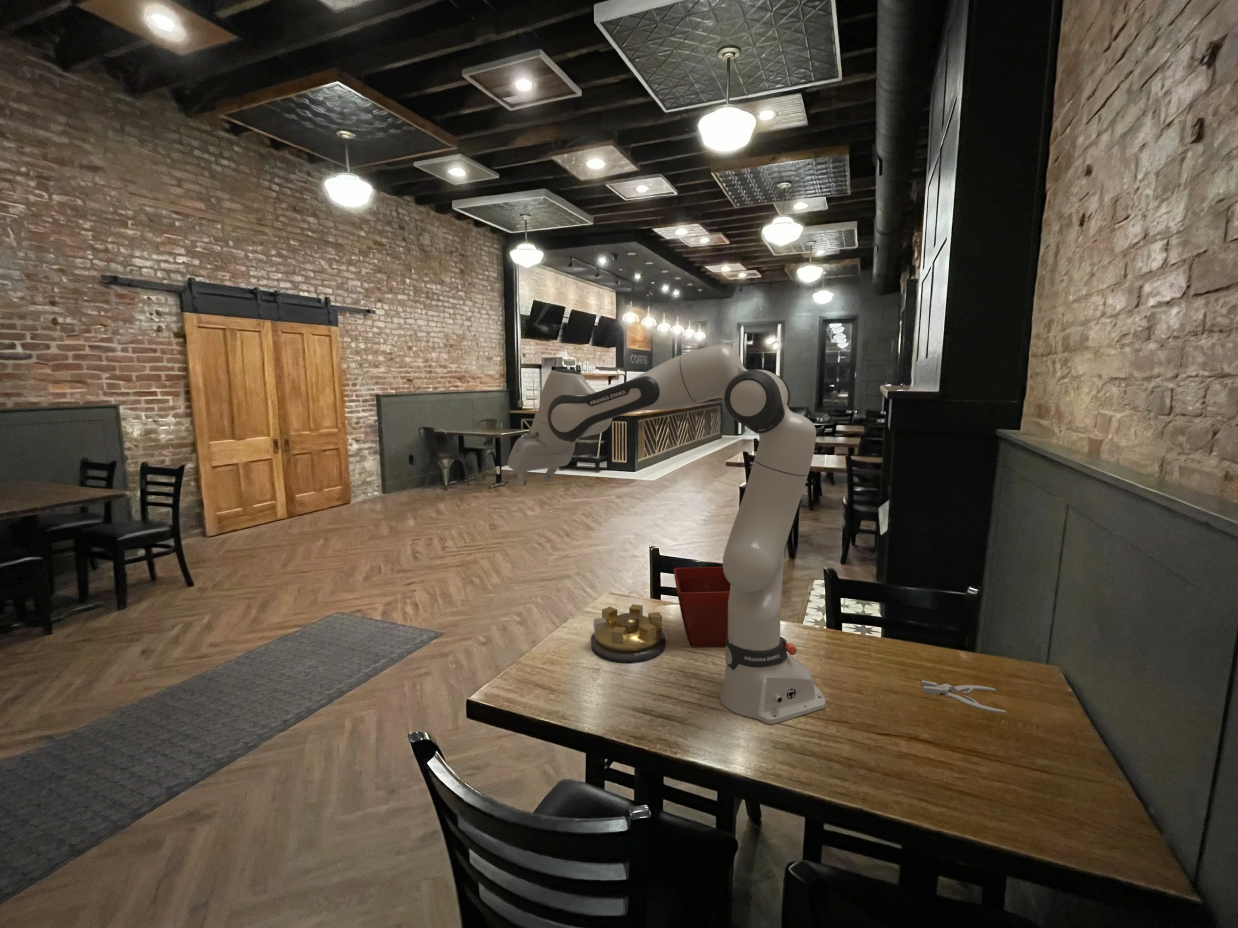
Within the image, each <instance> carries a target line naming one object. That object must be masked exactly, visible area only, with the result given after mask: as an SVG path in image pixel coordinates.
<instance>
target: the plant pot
mask: <svg viewBox="0 0 1238 928" xmlns="http://www.w3.org/2000/svg"><path fill="white" fill-rule="evenodd" d="M673 575H674V581H675V588H676V594H677V599H678V604H679V609H680V614H681V618H682V619H681V620H682V624H683V629H684V631H685V635H686V638H687V641H688V644H689V646H690V647H691V648H719V647H720V648H722V647H723V648H725V647H726V636H727V634H728V599H729V593H730V583H729V582H728V580H727V579H726V577H725V575H724V571H723V566H708V567H707V566H704V567H703V566H700V567H698V566H697V567H696V566H695V567H694V566H693V567H674V568H673Z"/></svg>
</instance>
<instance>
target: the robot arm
mask: <svg viewBox="0 0 1238 928" xmlns="http://www.w3.org/2000/svg"><path fill="white" fill-rule="evenodd" d="M790 393H791V392H790V388H789V386H788V383H787V382H786V381H785V380H784V379H783V378H782V377H781V376H779V375H777V374H775V373H774V372H771V371H770V370H766V369H755V368H746V367H744V365H743V361H742V359H741V356H740V355H739V353H738V352H737V351H736V350H735V349H734V348H733V347H732V346H730V345H729V344H717V345H716V344H715V345H711V346H710V345H709V346H705V347H703V348H698V349H694V350H691V351H689V352H685V353H682V354H679V355H678V356H677V355H676V356H675V357H672V358H670V359H668V360H666V361H664V362H662V363H660V364H658V365H657V366H655V367H653V368H650V369H649V370H647V371H645V372H643V373H641V374H639V375H638V376H635V377H634V378H631V379H629V380H627V381H624V382H621V383H620V384H616V385H614V386H613V385H612V386H610V387H608V388H605V389H602V390H600V391H595V389H594V388H592V387H591V386H590V385H589V383H588V382H587V381H586V379H585V376H584V374H583V373H581V372H579V371H577V370H573V369H570V368H569V369H568V368H555V369H553V370H551V371H550V372H549V374H548V375H547V377H546V380H545V383H544V385H543V388H542V391H541V394H540V397H539V407H538V409H537V411H536V412H535V415H534V418H533V421H532V424H531V428H530V431H529V433H528V432H527V433H523V434H522V435H521V436H520V437H518V438H517V440H516V441H515V443H514V444H513V447H512V449H511V452H510V454H509V456H508V459H507V466H508V468H509V469H511V470H512V471H514V472H516V475H517V480H516V484H517V486H519V487H526V486H527V483H528V479H526V475H527V474H528V472H529V471H536V470H537V471H538V470H545V469H547V470H546V471H545V472H544V473H543V474H542V477H541V480H542V481H543V482H545V483H550V482H551V480H552V477H553V475H555V474H556V472H557V471H558V468H559V467H565V466H566V467H567V466H568V465H569V463H570V462H571V461H572V457H573V454H574V451H575V447H576V443H577V442H578V440H579V439H580V438H586V437H590V436H594V435H595V436H596V435H598V434H601V433H604V432H606V430H608V429H609V428H610V426H611V425H612V423H613V418H617V417H620V416H622V415H626V414H628V413H635V412H643V411H668V410H677V409H678V410H679V409H683V408H688V407H692V406H694V405H698V404H701V403H704V402H707V401H710V400H714V399H724V400H723V401H724V406H725V409H726V410H727V413H728V414H729V416H731V418H732V419H734V420H735V421H736V422H738V423H739V424H740V425H743V426H744V427H746V428H747V429H749V430H750V431H751V432H753V433H754V434H757V435H758V437H759V439H758V444H757V445H758V446H757V449H756V452H755V456H754V459H753V463H752V466H751V469H750V474H749V476H748V479H747V484H746V487H745V490H744V493H743V496H742V499H741V502H740V505H739V507H738V511H737V514H736V516H735V519H734V522H733V525H732V527H731V530H730V533H729V537H728V540H727V543H726V545H725V549H724V552H723V557H722V567H723V571H724V575H725V577H726V579H727V580H728V582H729V583H730V593H729V599H728V634H727V636H726V647H724V657H725V663H726V665H725V674H724V679H723V683H722V686H721V690H720V693H719V700H720V702H721V703H722V704H723V706H724V707H725V708H727V709H728V710H729V711H731V712H733V713H735V714H737V715H740V716H744V717H748V718H753V719H756V720H758V721H760V722H763V723H765V724H769V725H775V724H778V723H781V722H784V721H789V720H790V719H793V718H797V717H800V716H804V715H806V714H811V713H814V712H818V711H820V710H822V709H825V708H826V698H825V696H824V694H823V693H822V691H821V690H820V689H819V688H818V687H817V686H816V685H815V683H814V679H813V677H812V674H811V672H810V671H809V669H808V668H807V667H806V666H805V665H804V664H803V663H802V662H801V661H799V660H798V659H796V658H795V657H794V656H795V655H796V653H798V652H797V651H798V648H797V647H796V645H794V644H793V642H792V643H791V642H788V641H787V640H786V639H785V638H784V637H782V636H781V612H782V611H781V610H782V609H781V607H782V606H781V605H782V595H783V594H782V593H783V578H784V564H785V563H784V560H785V559H784V558H785V548H786V545H787V543H788V539H789V535H790V533H791V530H792V526H793V523H794V520H795V518H796V514H797V512H798V508H799V505H800V503H801V502H800V501H801V499H802V496H803V492H804V489H805V486H806V483H807V479H808V476H809V474H810V470H811V467H812V462H813V457H814V453H815V448H816V439H817V438H816V436H817V430H816V426H815V424H814V422H812V421H811V420H810V419H809V418H808V417H806V416H804V415H802V414H800V413H796V412H794V411H792V410H791V409H790V408H789V405H790V402H791V401H790V400H791V394H790Z"/></svg>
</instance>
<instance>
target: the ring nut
mask: <svg viewBox="0 0 1238 928" xmlns="http://www.w3.org/2000/svg"><path fill="white" fill-rule="evenodd" d="M643 608H644V606H643V605H642V604H633V603H632V604H631V606H630V607H629V609H628V611H629V612H624V613H621V614H618V609H617V608H614V607H612V606H608V607H606V608H603V609H601V617H600V618H599V617H598V618H593V630H594V632H595V642H596V643H597V645H599V646H600V647H601V648H603V649H605V650H608V651H612V652H616V653H638V652H643V651H647V650H650V649H652V648H654V647H656V646H657V645H658V644H659V643H660V642H661V640H662V632H663V616H662V615H661V612H659V611H655V612H647V613H648V616H646V615H644V613H643V612H644V609H643ZM594 632H593V633H594Z"/></svg>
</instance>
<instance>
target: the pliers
mask: <svg viewBox="0 0 1238 928" xmlns="http://www.w3.org/2000/svg"><path fill="white" fill-rule="evenodd" d="M920 687H922V692H923V693H924V694H929V695H937V696H940V694H942V695H944V696H945V697H949V698H952V699H955V700H957V701H958V702H960V703H962V704H965V705H966V706H969V707H973V708H976V709H980V710H983V711H987V712H992V713H1000V714H1007V710H1004V709H999V708H995V707H990V706H987V705H983V704H980V703H979V702H978V701H977V700H975V699H973V698H971V697H970V696H967V694H971V692H973V691H974V690H975V691H977V690H978V691H989V692H990V691H991V692H996V691H997V690H996V688H993V687H989V686H984V685H974V684H961V685H955V686H953V685H951V684H950V683H943V684H938V682H935V681H934V682H933V681H929V680H923V679H922V680H921V686H920ZM951 692H952V693H951ZM959 692H962V695H963V697H962V696H961V695H957V694H955V693H959Z"/></svg>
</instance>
